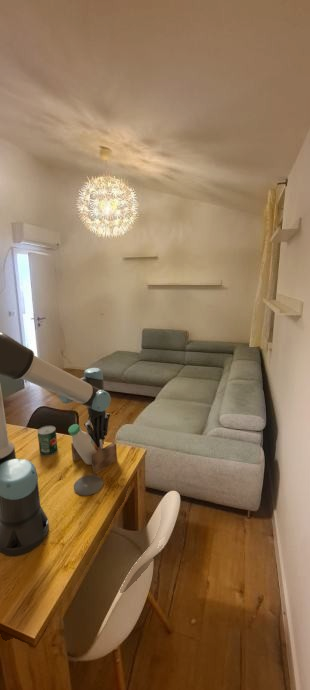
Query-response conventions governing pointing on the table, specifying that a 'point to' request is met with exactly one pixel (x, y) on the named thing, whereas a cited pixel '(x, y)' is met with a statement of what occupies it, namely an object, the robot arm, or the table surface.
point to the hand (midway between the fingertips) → (100, 452)
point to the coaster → (88, 485)
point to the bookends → (99, 457)
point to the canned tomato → (47, 440)
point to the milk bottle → (83, 443)
